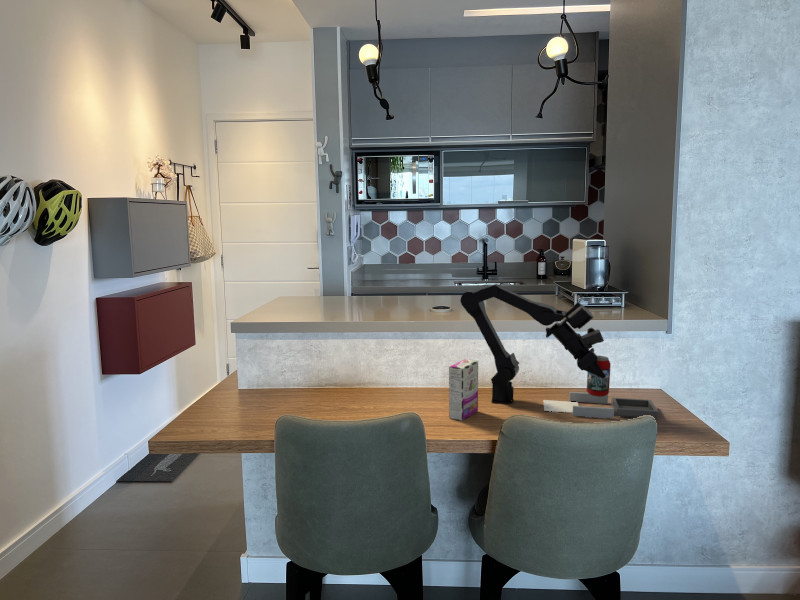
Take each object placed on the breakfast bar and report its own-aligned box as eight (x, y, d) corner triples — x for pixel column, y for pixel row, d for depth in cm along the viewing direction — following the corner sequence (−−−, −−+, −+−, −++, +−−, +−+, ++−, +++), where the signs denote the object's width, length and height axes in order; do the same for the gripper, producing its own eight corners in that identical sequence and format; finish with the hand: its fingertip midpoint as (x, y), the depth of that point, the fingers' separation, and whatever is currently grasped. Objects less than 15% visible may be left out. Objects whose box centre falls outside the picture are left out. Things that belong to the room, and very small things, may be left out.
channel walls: (572, 416, 187) (573, 406, 186) (569, 400, 203) (569, 391, 202) (613, 418, 184) (614, 409, 184) (607, 402, 200) (607, 393, 200)
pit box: (616, 416, 186) (616, 408, 186) (611, 404, 198) (611, 397, 197) (658, 419, 184) (658, 411, 183) (650, 407, 195) (650, 399, 195)
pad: (544, 411, 191) (544, 410, 191) (543, 401, 202) (543, 399, 202) (580, 413, 189) (580, 412, 189) (577, 403, 199) (577, 402, 199)
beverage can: (585, 396, 191) (587, 359, 189) (587, 390, 197) (589, 354, 195) (608, 398, 188) (610, 361, 186) (609, 392, 194) (611, 356, 192)
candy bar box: (463, 408, 194) (464, 358, 192) (478, 411, 191) (479, 360, 189) (447, 418, 184) (448, 365, 182) (462, 421, 182) (463, 368, 180)
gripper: (591, 326, 181) (628, 365, 180) (585, 316, 199) (619, 351, 198) (562, 351, 184) (598, 389, 183) (559, 338, 202) (592, 373, 201)
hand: (603, 374), depth 191 cm, fingers closed on beverage can, 7 cm apart
